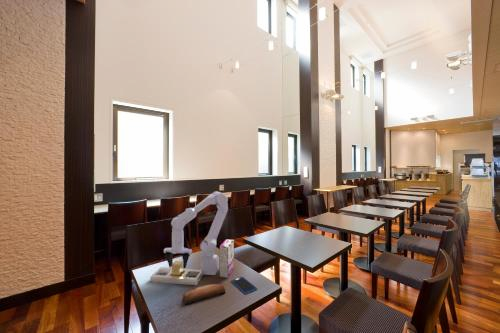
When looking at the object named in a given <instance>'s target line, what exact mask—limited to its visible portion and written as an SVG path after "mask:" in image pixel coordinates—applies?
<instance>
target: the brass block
mask: <svg viewBox="0 0 500 333" xmlns="http://www.w3.org/2000/svg"><path fill="white" fill-rule="evenodd" d="M171 268H172V276H179V277H181V276H182V274H183V269H184V268H183V260H182V261H181V260H179V261H177V260H175V261H174V262H173V264H172V267H171Z"/></svg>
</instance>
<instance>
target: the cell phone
mask: <svg viewBox="0 0 500 333" xmlns="http://www.w3.org/2000/svg"><path fill="white" fill-rule="evenodd" d="M230 282H231V284H233V285H234V286H235V287H236V289H238V290H239V291H240V292H241V293H242V294H243V295H249V294H252V293H253V292H255V291H258V290H257V289H258V288H257V286H255V285H254V284H253V283H251V282H250V281H249V280H247V279H246V278H245V277H244V276H239V277H237V278H234V279H232V280H230Z"/></svg>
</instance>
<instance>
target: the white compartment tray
mask: <svg viewBox="0 0 500 333" xmlns="http://www.w3.org/2000/svg"><path fill="white" fill-rule="evenodd" d="M202 277H204V274H203V270H201V269H194V268H183V274H182V276H181V277H179V276H172V267H164V266H163V267H160V268H159V269H157V270H156V271H155V272H154V273H153V274H151V276H150V278H149V279H150V282H152V283H165V284H166V283H167V284H176V285H177V284H178V285H179V284H180V285H190V286H197V285H198V283H199V282H200V280H201V278H202Z"/></svg>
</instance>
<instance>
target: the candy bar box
mask: <svg viewBox="0 0 500 333" xmlns="http://www.w3.org/2000/svg"><path fill="white" fill-rule="evenodd" d="M234 241H235V240H234V239H225V240H224V241H223V242H222V243H221V244H220V246H219V277H220V278H225V279H229V277H230V276H231V274H232V273H233V270H234V269H235V266H234V265H235V257H234V256H235V254H234V253H235V247H234V246H235V244H234V243H235V242H234Z"/></svg>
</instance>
